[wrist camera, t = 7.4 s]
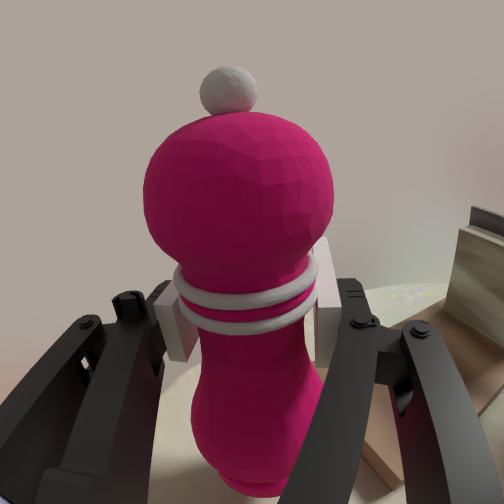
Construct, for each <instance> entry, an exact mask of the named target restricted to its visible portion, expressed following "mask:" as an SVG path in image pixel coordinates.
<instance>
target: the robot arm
mask: <svg viewBox="0 0 504 504" xmlns="http://www.w3.org/2000/svg"><path fill="white" fill-rule="evenodd" d="M312 254H313V255H314V256H315V257H316V259H317V262H318V265H319V269H318V275H317V277H316V279H315V281H316V282H317V286H318V296H317V300H316V302H315V304H314V306H313V312H314V337H315V368H329V369H328V372H327V375H326V379H325V382H324V385H323V388H322V391H321V394H320V397H319V400H318V403H317V406H316V409H315V412H314V415H313V417H312V420H311V423H310V426H309V428H308V431H307V434H306V436H305V439H304V442H303V444H302V447H301V449H300V452H299V454H298V457H297V459H296V462H295V464H294V467H293V469H292V471H291V474H290V476H289V478H288V481H287V483H286V485H285V488H284V490H283V492H282V494H281V496H280V499H279V501H278V503H277V504H348V502H349V499H350V495H351V492H352V488H353V485H354V481H355V477H356V473H357V469H358V465H359V461H360V457H361V452H362V448H363V443H364V439H365V434H366V429H367V423H368V418H369V412H370V406H371V400H372V394H373V387H374V383H376V384H382V385H387V386H388V390H389V395H390V399H391V404H392V409H393V414H394V419H395V424H396V430H397V435H398V441H399V447H400V454H401V460H402V467H403V475H404V482H405V491H406V501H407V504H504V499H503V495H502V491H501V487H500V483H499V479H498V475H497V472H496V468H495V465H494V462H493V458H492V455H491V452H490V449H489V446H488V443H487V440H486V437H485V434H484V432H483V429H482V426H481V423H480V421H479V418H478V416H477V413H476V410H475V408H474V405H473V403H472V401H471V398H470V396H469V393H468V391H467V389H466V387H465V384H464V382H463V380H462V378H461V375H460V373H459V371H458V369H457V367H456V365H455V362H454V360H453V358H452V356H451V354H450V352H449V350H448V348H447V346H446V344H445V342H444V340H443V338H442V336H441V334H440V333H439V331H438V329H437V328H436V327H435V325H433V324H432V323H430V322H427V321H424V320H411V321H408V322H407V323H405V324H404V326H403V328H402V330H397V329H391V328H387V327H384V326H382V325H380V321H379V319H378V318H377V317H376V316H374V315H372V314H371V311H370V308H369V305H368V302H367V299H366V297H365V293H364V290H363V288H362V284H361V283H360V282H359V281H357V280H356V279H355V278H347V279H336V277H335V272H334V268H333V263H332V259H331V255H330V250H329V246H328V242H327V237H320V239H319V240H318V241H317V242H316V243H315V244H314V245H313V246H312ZM178 297H179V292H178V291H177V289H176V287H175V286H174V280H166V281H164V282H163V283H161V284H159V285H158V286H157V287H156V288H155V289H154V291H153V292H152V293H151V294H150V295H149V297H148V298H147V299H146V300H145V299H144V295H143V293H141V292H140V291H126V292H123V293H121V294H119V295H117V296H115V297H114V298H113V299H112V303H113V306H114V309H115V312H116V315H117V318H118V319H117V321H116V323H111V324H102V322H101V319H100V317H99V316H97V315H85V316H82V317H81V318H79V319H77V320H76V321H75V322H74V323H73V324H72V325H71V326H70V327H69V328H68V329H67V330H66V331H65V332H64V333H63V334H62V336H61V337H60V338H59V339H58V340H57V341H56V342H55V343H54V344H53V345H52V346H51V347H50V348H49V349H48V351H47V352H46V353H45V354H44V355H43V356H42V357H41V358H40V359H39V361H38V362H37V363H36V364H35V365H34V366H33V367H32V368H31V369H30V371H29V372H28V373H27V374H26V375H25V377H24V378H23V379H22V380H21V381H20V382H19V383H18V385H17V386H16V387H15V388H14V389H13V390H12V392H11V393H10V394H9V395H8V397H7V398H6V399H5V400H4V402H3V403H2V404H1V405H0V504H147V498H148V487H149V477H150V467H151V458H152V450H153V442H154V434H155V427H156V420H157V413H158V406H159V399H160V393H161V387H162V381H163V375H164V369H165V363H164V360H163V355H164V353H165V352H166V350H167V353H168V356H169V360H170V361H178V362H187V361H188V359H189V356H190V355H191V353H192V350H193V348H194V346H195V344H196V342H197V340H198V337H199V334H198V330H197V327H196V325H194V324H192V323H191V322H190V321H189V320H188V319H187V318H186V317H184V315H183V314H182V312H181V310H180V308H179V303H178ZM84 357H85V358H86V360H87V362H88V364H89V366H88V367H87V368H86V369H85V368H84V367H83V365H82V363H81V360H82V359H83V358H84Z"/></svg>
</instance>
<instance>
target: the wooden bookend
mask: <svg viewBox="0 0 504 504" xmlns="http://www.w3.org/2000/svg"><path fill="white" fill-rule="evenodd" d="M411 320H424V321H427V322H430V323H432V324H433V325H435V327H436V328H437V329H438V331H439V333H440V334H441V336H442V338H443V340H444V342H445V344H446V346H447V348H448V350H449V352H450V354H451V356H452V358H453V360H454V362H455V365H456V367H457V369H458V371H459V373H460V375H461V378H462V380H463V382H464V384H465V387H466V389H467V391H468V393H469V396H470V398H471V401H472V403H473V405H474V408H475V410H476V413H477V416H478V417H479V416H480V415H481V414H482V412H483V411H484V410H485V409H486V408H487V407H488V406H489V405H490V403H491V402H492V401H493V400H494V399H495V397H496V396H497V395H498V394H499V393H500V391H501V390H502V389H503V388H504V215H502V214H499V213H496V212H493V211H490V210H487V209H484V208H481V207H478V206H472V207H471V215H470V223H469V226H466V227H463V228H460V229H459V234H458V241H457V247H456V253H455V259H454V264H453V269H452V274H451V278H450V283H449V287H448V291H447V295H446V298H444V299H442V300H440V301H439V302H437V303H435V304H433V305H432V306H430V307H428V308H426V309H424V310H423V311H421V312H419V313H417V314H415V315H413V316H411V317H410V318H408V319H406V320H404V321H402V322H400V323H398V324H396V325H394V326H392V327H390V328H391V329H397V330H402V328H403V326H404V324H405V323H407V322H408V321H411ZM312 364H313V366H314V368H315V361H313V362H312ZM328 369H329V368H315V370H316V372H317V373H318V375H319V377H320V379H321V380H322V382H323V384H324V382H325V379H326V375H327V372H328ZM361 455H362V456H363V457H364V459H365V460H366V461H367V462H368V463H369V465H370V466H371V467H372V468H373V469H374V470H375V472H376V473H377V474H378V475H379V476H380V477H381V478H382V480H383V481H384V482H385V483H386V484H387V485H388V486H389V488H390V489H391V490H392V491H394V490H395V489H397V488H398V487H399V486H401V485H402V484H404V483H405V482H404V475H403V467H402V460H401V454H400V447H399V441H398V435H397V430H396V424H395V419H394V414H393V409H392V404H391V399H390V395H389V390H388V386H387V385H382V384H376V383H374V387H373V394H372V400H371V406H370V412H369V418H368V423H367V429H366V434H365V439H364V443H363V448H362V452H361Z"/></svg>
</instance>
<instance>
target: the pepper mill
mask: <svg viewBox="0 0 504 504" xmlns="http://www.w3.org/2000/svg"><path fill="white" fill-rule="evenodd" d="M257 95H258V89H257V85H256V82H255V80H254V78H253V77H252V76H251V75H250V74H249V73H248V72H247V71H246V70H244V69H242V68H239V67H236V66H222V67H219V68H217V69H215V70H213V71H211V72H210V73H209V74H208V75H207V76H206V77H205V78H204V80H203V82H202V84H201V87H200V98H201V103H202V104H203V106H204V108H205V109H206V110H207V111H208V112H209V113H210V114H211V115H213V116H209V117H204V118H201V119H199V120H196V121H194V122H192V123H190V124H188V125H185V126H183V127H181V128H180V129H178V130H177V131H175V132H174V133H173V134H171V135H169V136H168V137H167V139H166V140H165V141H164V142H163V143H162V144H161V145H160V147H158V149H157V150H156V151H155V153H154V155H153V156H152V158H151V160H150V162H149V165H148V168H147V171H146V173H145V179H144V185H143V203H144V215H145V218H146V222H147V226H148V229H149V232H150V234H151V235H152V237H153V239H154V241H155V243H156V244H157V245H158V246H159V247H160V248H161V249H162V250H163V251H164V252H165V253H166V254H167V255H169V256H170V257H172V258H173V259H174V260H176V261H177V262H178V263H179V265H178V266H177V268H176V269H175V272H174V277H173V280H174V286H175V287H176V289H177V291H178V292H179V297H178V303H179V308H180V310H181V312H182V314H183V315H184V317H186V318H187V319H188V320H189V321H190V322H191V323H192V324H194V325H196V327H197V330H198V334H199V337H200V344H201V352H202V364H201V375H200V379H199V383H198V385H197V388H196V391H195V394H194V397H193V400H192V406H191V425H192V431H193V435H194V438H195V441H196V444H197V447H198V449H199V451H200V452H201V454H202V455H203V457H204V458H205V459H206V460H207V462H208V463H209V464H210V465H212V466H213V467H214V468H215V469H216V470H217V471H218V473H219V475H220V476H221V478H222V479H223V481H224V482H225V483H226V484H227V485H228V486H229V487H231V488H233V489H234V490H236V491H237V492H240V493H242V494H244V495H247V496H251V497H257V498H271V497H277V496H281V494H282V492H283V490H284V488H285V485H286V483H287V481H288V478H289V476H290V474H291V471H292V469H293V467H294V464H295V462H296V459H297V457H298V454H299V452H300V449H301V447H302V444H303V442H304V439H305V436H306V434H307V431H308V428H309V426H310V423H311V420H312V417H313V415H314V412H315V409H316V406H317V403H318V400H319V397H320V394H321V391H322V388H323V385H324V384H323V382H322V380H321V379H320V377H319V375H318V373H317V372H316V370H315V368H314V366H313V364H312V362H311V360H310V358H309V355H308V352H307V348H306V345H305V337H304V317H305V315H306V314H307V313H308V312H309V310H310V309H311V308H312V307H313V306H314V304H315V302H316V300H317V296H318V286H317V282H316V281H315V279H316V277H317V275H318V269H319V265H318V262H317V259H316V257H315V256H314V255H313V254H312V253H311V252H310V251H309V250H310V249H311V248H312V246H313V245H314V244H315V243H316V242H317V241H318V240H319V239H320V237H321V236H322V235H323V233H324V231H325V229H326V228H327V226H328V224H329V222H330V220H331V217H332V214H333V203H334V190H333V179H332V175H331V171H330V168H329V164H328V161H327V159H326V157H325V155H324V154H323V152H322V150H321V148H320V146H319V145H318V143H317V142H316V141H315V140H314V139H313V138H312V137H311V136H310V135H309V134H308V133H307V132H306V131H305V130H303V129H302V128H301V127H299V126H298V125H296V124H294V123H292V122H289V121H287V120H285V119H282V118H280V117H277V116H274V115H268V114H264V113H259V112H249V111H250V110H251V109H252V107H253V106H254V104H255V103H256V100H257Z"/></svg>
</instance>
